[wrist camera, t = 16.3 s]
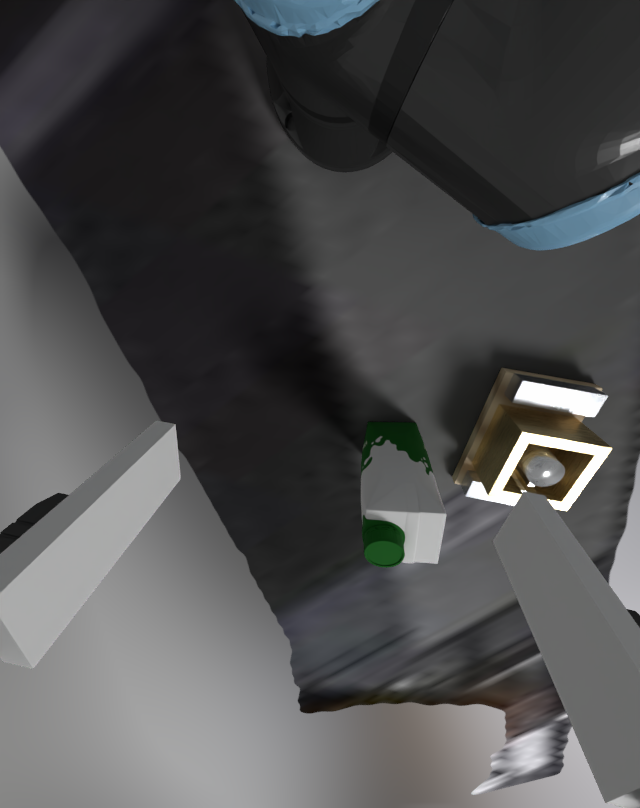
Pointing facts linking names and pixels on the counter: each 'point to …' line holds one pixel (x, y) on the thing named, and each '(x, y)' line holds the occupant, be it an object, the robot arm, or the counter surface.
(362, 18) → the robot arm
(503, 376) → the bench plate
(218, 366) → the counter surface
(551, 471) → the grey metal piece
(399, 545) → the milk carton
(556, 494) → the gold square frame
